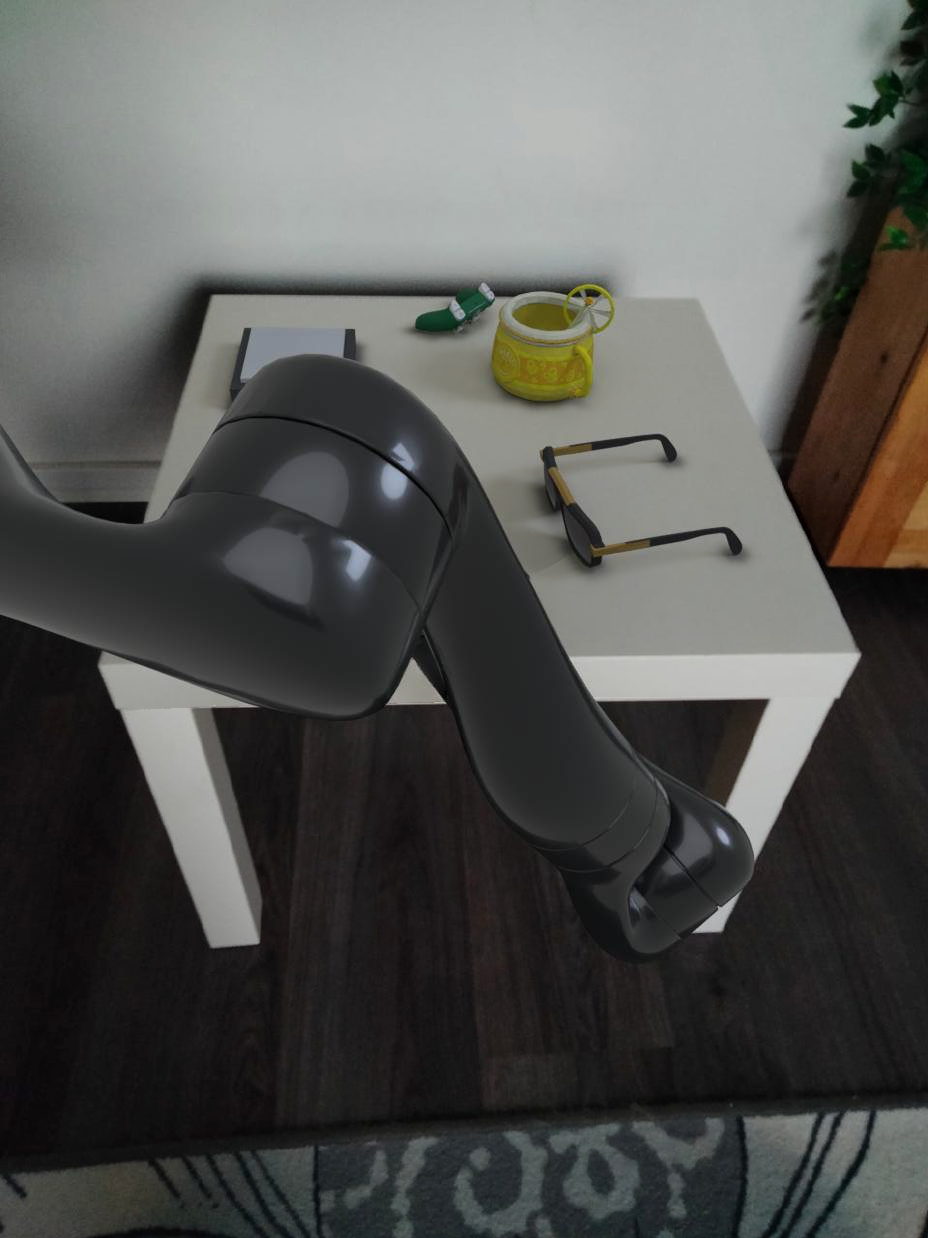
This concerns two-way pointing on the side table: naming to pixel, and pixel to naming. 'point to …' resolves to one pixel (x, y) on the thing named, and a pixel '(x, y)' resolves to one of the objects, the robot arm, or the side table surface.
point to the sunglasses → (579, 524)
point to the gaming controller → (457, 311)
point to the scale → (287, 348)
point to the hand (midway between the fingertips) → (381, 540)
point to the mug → (547, 344)
